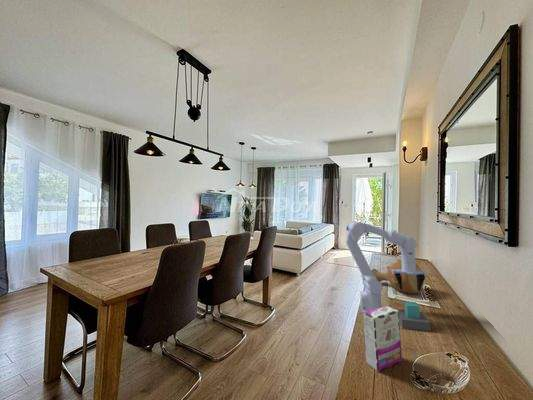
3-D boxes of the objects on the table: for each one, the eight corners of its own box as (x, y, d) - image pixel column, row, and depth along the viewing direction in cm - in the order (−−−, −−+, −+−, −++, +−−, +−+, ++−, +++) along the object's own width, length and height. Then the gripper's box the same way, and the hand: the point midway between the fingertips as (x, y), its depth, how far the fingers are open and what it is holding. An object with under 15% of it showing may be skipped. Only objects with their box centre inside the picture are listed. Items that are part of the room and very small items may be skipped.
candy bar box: (388, 353, 80) (386, 304, 80) (402, 362, 75) (399, 310, 76) (364, 362, 75) (362, 311, 76) (377, 372, 70) (375, 317, 71)
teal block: (407, 317, 97) (406, 305, 97) (404, 312, 102) (404, 301, 102) (419, 318, 96) (419, 306, 96) (416, 314, 100) (415, 302, 100)
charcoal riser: (402, 328, 95) (401, 319, 96) (396, 317, 105) (396, 309, 105) (430, 331, 92) (429, 322, 93) (422, 319, 102) (421, 311, 102)
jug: (412, 279, 120) (360, 274, 145) (427, 304, 125) (374, 295, 149) (421, 252, 131) (371, 251, 155) (434, 276, 136) (384, 272, 160)
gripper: (393, 262, 110) (394, 291, 110) (428, 263, 106) (430, 294, 106) (390, 259, 117) (391, 286, 117) (423, 260, 113) (425, 288, 112)
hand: (409, 289), depth 112 cm, fingers open, 7 cm apart
